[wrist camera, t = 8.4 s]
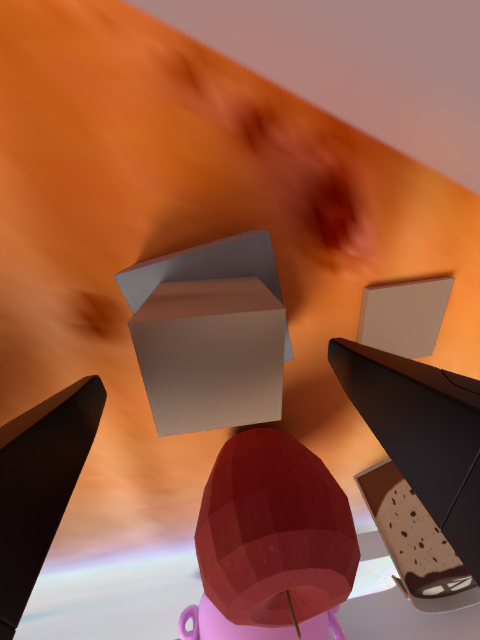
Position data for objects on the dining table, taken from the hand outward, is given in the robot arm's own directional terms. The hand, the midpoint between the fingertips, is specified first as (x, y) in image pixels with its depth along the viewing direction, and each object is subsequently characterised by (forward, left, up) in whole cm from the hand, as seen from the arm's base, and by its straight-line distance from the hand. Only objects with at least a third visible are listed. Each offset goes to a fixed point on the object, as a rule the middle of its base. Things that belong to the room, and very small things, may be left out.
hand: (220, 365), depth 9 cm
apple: (-15, -2, -8) cm, 17 cm away
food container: (-25, -19, -8) cm, 32 cm away
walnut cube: (0, 0, -4) cm, 4 cm away
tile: (-4, -15, -8) cm, 17 cm away
